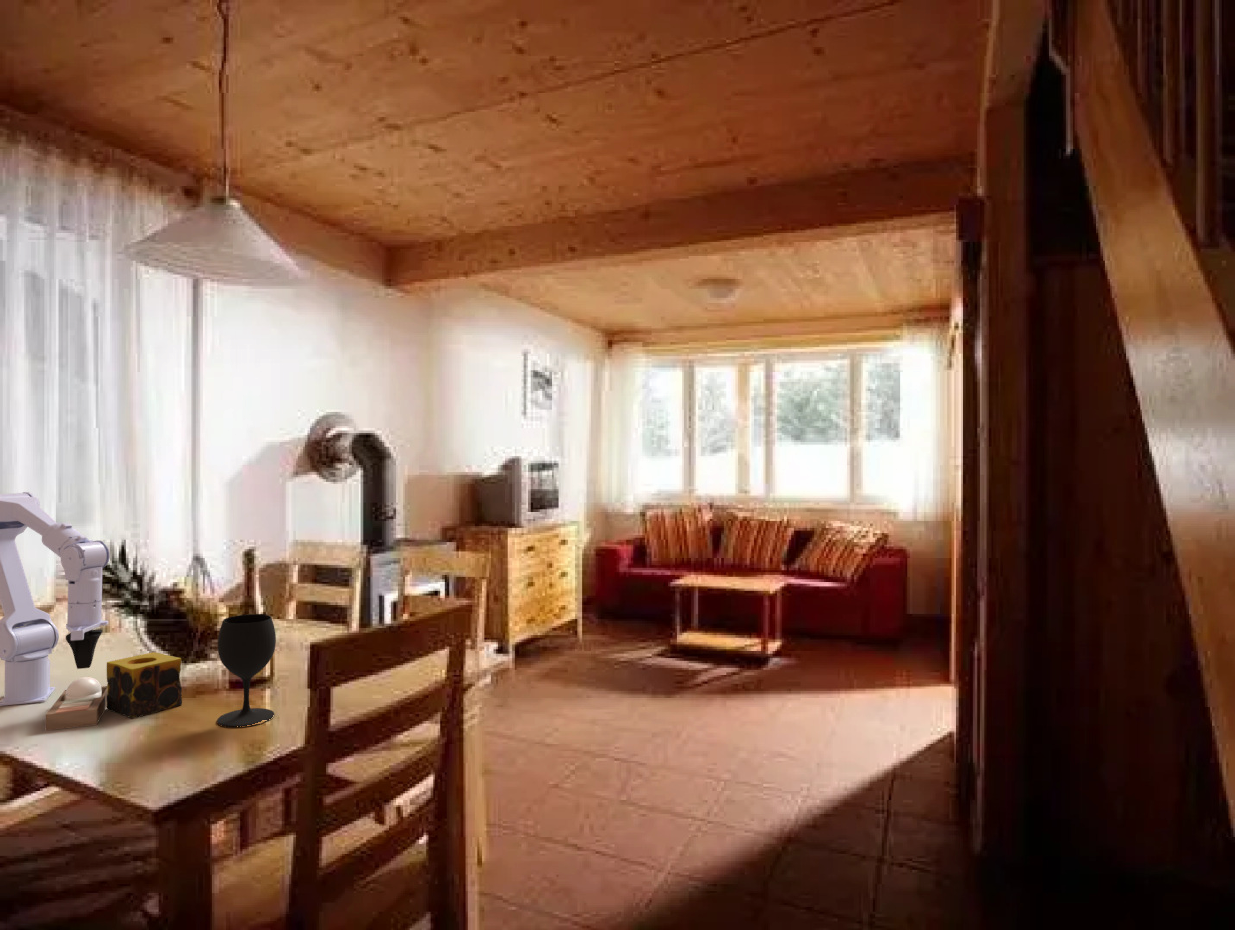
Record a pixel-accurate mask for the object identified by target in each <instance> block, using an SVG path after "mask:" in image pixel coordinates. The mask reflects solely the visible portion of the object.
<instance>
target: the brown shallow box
mask: <svg viewBox="0 0 1235 930" xmlns="http://www.w3.org/2000/svg"><path fill="white" fill-rule="evenodd" d="M101 688H102V697H98V698H95V697H91V698H81V699H70V700H66V690H67V689H64V691H63V692H62V693H61V695H60V696H59V697H58V698H57V700H56V701H55V702H54V703H53V705H52V706H51V707H50V709H49V710H48V711H47V712H46V713H45V730H44V731H52V730H53V731H54V730H60V729H62V730H63V729H69V728H70V729H71V728H78V727H87V726H89V727H90V726H97V724H98V723H99V721H100V719H101V718H102V716H103V714H104V712H105V711H106V709H107V694H108V689H107V685H104V686H103V685H102V686H101Z"/></svg>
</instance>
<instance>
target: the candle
mask: <svg viewBox="0 0 1235 930" xmlns="http://www.w3.org/2000/svg"><path fill="white" fill-rule="evenodd" d="M181 666H182V658H181V657H176V656H172V655H169V654H165V653H161V652H156V651H153V652H148V653H143V654H142V653H141V654H138V655H133V656H129V657H124V658H120V659H115V660H110V661H107V662H106V682H107V684H106V686H107V689H108V694H107V707H106V709H107V710H108V711H111V712H114V713H115V714H118V715H119V714H120V715H122V716H125V717H127V718H131V719H132V718H133V719H134V718H139V716H140V717H143V716H146V714H147V715H150V714H153V713H157V712H161V711H163V710H166V709H165V708H167V709H172V708H176V707H179V705H180V706H182V704H183V700H182V699H183V698H182V691H183V688H182V684H181V683H182V682H181V677H180V676H181V674H180V673H181V670H182V667H181ZM175 706H176V707H175ZM171 707H172V708H171ZM142 715H143V716H142Z"/></svg>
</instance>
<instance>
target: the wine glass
mask: <svg viewBox="0 0 1235 930" xmlns="http://www.w3.org/2000/svg"><path fill="white" fill-rule="evenodd" d="M217 638H218V639H217V653H218V657H219V659H220V662H221V664H222V665H223V666H224V667H225V668H226V669H227V670H228V671H229V672H230V673H231V674H233V675H235V676H236V677H238V678H240V679H241V682H242V685H243V704H242V708H241V709H238V710H237V709H236V710H232V711H230V712H227V713H224V714H222V715H220V716H219V717H218V718H217V720H216V723H217V722H218V724H220V725H222V726H226V727H225V728H227V727H237V726H238V727H240V726H241V727H242V726H247V725H252V724H255V723H258V722H261V721H262V720H269V719H271V718H272V717H273V715H274V716H275V712H274V710H272V709H268V708H264V707H263V708H262V707H261V708H260V707H251V705H250V687H251V686H250V684H251V681H252V678H254V676H256V675H257V674H258V673H260V672H261V671H262V670H263V669H264V668H265V667H266V666H267V665H268V664H269V662H270V661H271V659H272V657H273V655H274V653H275V650H276V643H277V637H276V629H275V625H274V620H273V619H272V616H271V615H268V614H261V613H259V614H258V613H255V614H254V613H253V614H250V613H249V614H240V615H239V614H238V615H235V616H229V617H226V618H224V619H223V620H222V623H221V626H220V629H219V632H218V637H217ZM273 718H274V717H273ZM273 718H272V719H273ZM272 719H271V720H272ZM218 724H217V725H218ZM220 725H219V726H220ZM222 726H221V727H222Z"/></svg>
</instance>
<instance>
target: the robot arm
mask: <svg viewBox="0 0 1235 930" xmlns="http://www.w3.org/2000/svg"><path fill="white" fill-rule="evenodd" d="M39 500H40V499H39V498H38V497H36V496H35V495H34V494H33V493H30V492H27V491H25V492H20V493H19V492H16V493H0V605H1V609H2V612H3V617H1V619H0V660H1V661H4V697H3V698H2V699H1V700H0V707H1V706H12V705H22V704H23V705H25V704H30V703H31V704H32V703H41V702H46V700H47V699H48V698H49V697H50V696H51V694H52V693H53V692H54V691H55V690H56V686H51V662H50V661H51V660H50V658H49V655H52V653H53V649H55V648H56V646H57V645H58V642H59V640H60V633H59V630H58V628H57V627H58V626H56V625H55V623H54V622H53V620H52V619H51V615H50V613H48V612H46V611H43V610H41V609H39V608H37V607H36V606H35V603H34V600H33V599H34V598H33V596H32V592H31V589H30V587H29V583H28V579H27V577H26V574H25V570H24V567H23V563H22V559H21V557H20V554H19V550H18V547H17V543H16V537H18V536H19V535H21V534H22V533H24V532H25V530H26V529H27V528H29V529H31V530H32V531H34V532H36V533H37V534H39V535H40V536H41V542H42V544H43V545H44V546H45V547H46V548H47V549H49V550H50V551H51V552H52V553H54V555H56V556H58V557H59V558H60V563H61V565H62V568H63V570H64V578H65V580H66V581H67V616H66V617H67V618H66V619H67V623H66V625H65V629H66V630H67V631H69V632H70V633H67V634H66V635H65V640H66V642H67V644H68V645H69V647H70V649H71V651H72V654H73V658H74V663H75V666H76V669H77V670H81V669H90V667H91V665H92V662H93V658H94V653H95V651H96V646H97V644H98V641H99V639H100V637H101V635H102V634H103V629H100V628H101V627H102V626H103V627H105V626H108V625H109V620H103V619H102V616H103V614H102V613H103V612H102V609H103V608H102V606H103V569H104V568H105V567H106V566H107V565H108V564H109V562H110V556H111V555H110V549H109V547H108V546H107V544H106V543H105V542H104V541H103V540H101V539H100V540H93V539H88V537H87V536H86V535H83V534H82V533H81V532H79V531H78V530H77V529H75V528H74V527H73V525H72V524H71V523H70V522H57V521H55V520H54V519H53V518H52V517H51V516H50V515H49V514H48V513H47V512H45V511H44V510H43V508H41V505H40V501H39ZM97 628H98V629H97Z"/></svg>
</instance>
